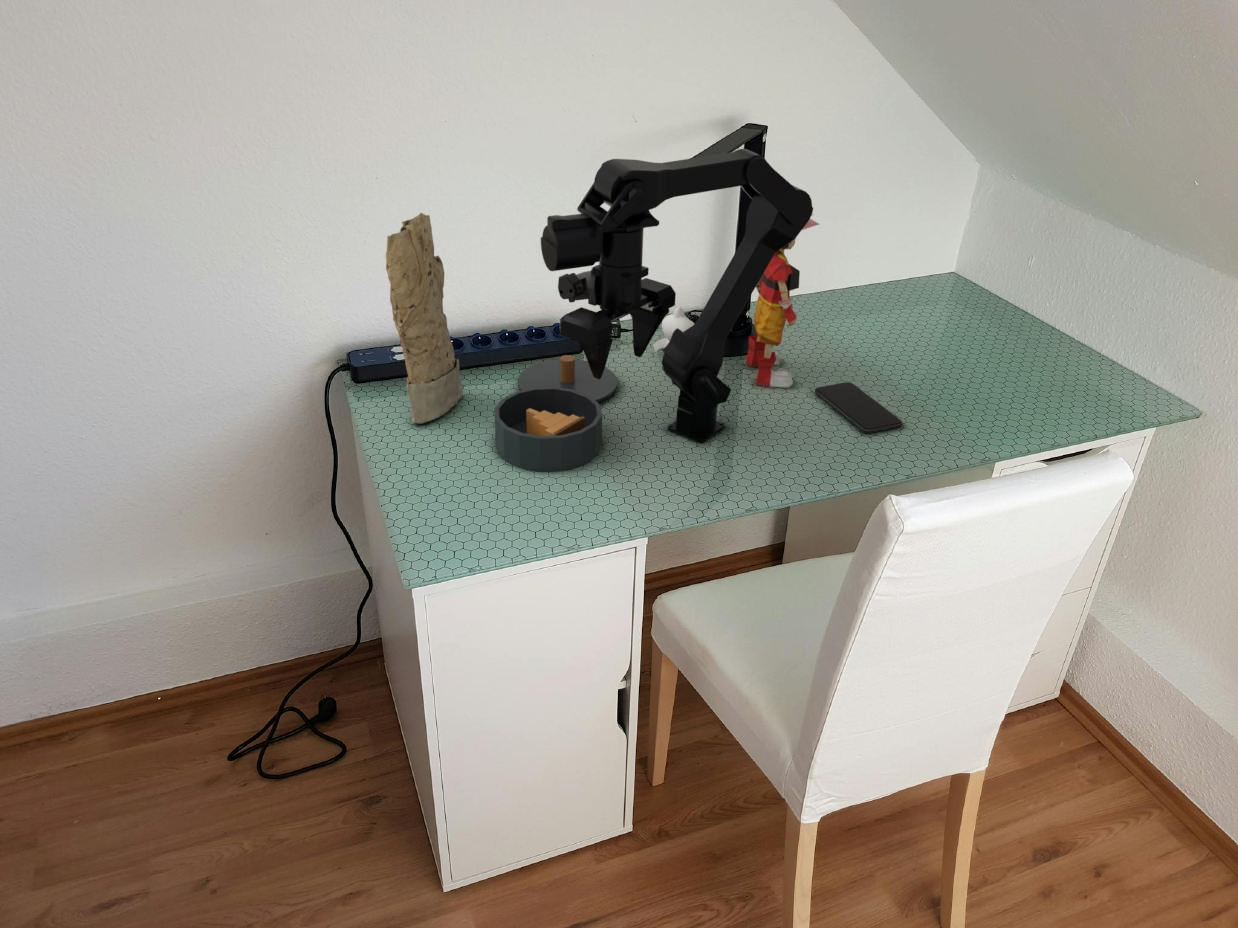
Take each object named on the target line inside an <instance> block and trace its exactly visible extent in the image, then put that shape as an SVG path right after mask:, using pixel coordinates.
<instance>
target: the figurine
mask: <svg viewBox="0 0 1238 928" xmlns="http://www.w3.org/2000/svg"><path fill="white" fill-rule="evenodd" d="M694 324H695V322H693V320H690V319H689V318H688V317H687V316H686V314H685V311H684V309H683V307H682V306H681V305H678V306H677V307H676V308H675V309H674V310H673V313H671V314H669V315H668V314H667V315H666V316H665V317H664V319H663V321H662V322H661V330H662V333H663V335H664V336H665V338H662V339H659V340H657V341H656V342H654V343H653V344H652V347H653V349H654V351H655V352H656V353H657V352H660V351H661V352H662V350H663V349H664V348H665V347H666V346H667V344H668V343H669V341H670V339H671V337H672V334H673V332H674V331H675V330H676V329H677V328H678V329H680V330H681V331H682V332H684V331H685V330H687V329H688V328H690V327H691V326H693V325H694Z"/></svg>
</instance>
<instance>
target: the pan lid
mask: <svg viewBox="0 0 1238 928" xmlns="http://www.w3.org/2000/svg"><path fill="white" fill-rule="evenodd" d="M536 387H559V388H566V389H572V390H576V391H579V392H581V393H584V394H586V395H589V396H591V397H592V398H593V399H594V400H595V401H596V402H598V403H599V402H601V401H604V400H606V399H608V398H609V397H610V396H612V395H613V394H614V393H615V391H616V390H617V387H618V379H617V376H616V375H615V372H613V371H612V370H610V369H609V368H607V366H605V369H604V372H603V375H602V377H601V379H597V378H594V377H593V374H592V371H591V369H590V366H589V364H588V361H587V360H583V359H576V357H575V356H574V355H570V354H569V355H568V354H564V355H562V356H560V357H559V359H551V360H546V361H540V362H538V363H535V364H533V365H530V366H529V367H527V368H525V369H523V370H522V372H521V373H520V374H519V376H518V377H517V388H518V391H522V390H526V389H531V388H536Z"/></svg>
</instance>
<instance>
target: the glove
mask: <svg viewBox="0 0 1238 928" xmlns="http://www.w3.org/2000/svg"><path fill="white" fill-rule="evenodd" d="M401 223H402V226H401V228H400V229H399V232H395V233H392V234H390V235H387V238H386V252H385V270H386V272H387V278H388V282H389V285H390V287H389V289H390V290H389V301H390V302H389V303H390V304H391V308H392V310H391V311H392V320H393V322H394V325H395V329H396V331H397V333H398V337H399V344H400V346H401V348H402V355H403V357H404V362H405V363H404V364H405V368H406V372H407V377H406V392H407V395H408V400H409V405H410V410H411V411H410V412H411V419H410V421H411V424H425V423H427V422H431V421H433V420H436V419H438V418H440V417H441V416H443V415H445V414H447V413H448V412H449V411H450V410H451V409H452V408H453V407H455V406H456V405H458V402H459V400H461V398H462V396H463V394H464V387H463V383H462V380H461V377H460V367H461V366H460V358H455V356H456V351H454V346H453V343H452V340H451V338H450V331H449V328H448V319H447V315H446V314H445V313H444V303H443V302H444V301H443V299H444V287H445V269H444V264H443V261H442V259H441V257H440V256H439V255H435V243H434V237H433V228H432V223H431V216H430V215H429V214H427V215H426V214H425V213H422V212H420V213H419V214H418V215H417V216H414V217H413V218H410V219H407V220H404V221H401Z"/></svg>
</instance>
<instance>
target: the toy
mask: <svg viewBox="0 0 1238 928" xmlns="http://www.w3.org/2000/svg"><path fill="white" fill-rule="evenodd" d="M814 215H815V213H812V215H811V217H813V216H814ZM819 225H820V223H819V222H817V221H815V220H814V219H812V218H810V220H809V221H808V223H807V224H806V225H805V227H804V228H803V229H802V230H801V231H804V230H807V229H809V228H813V227H815V226H819ZM796 239H797V237H796V238H795V239H794V240H793V241H792V242H790V243H789V244H787V245H786V246H784V247H783V248H781V249H780V250H778V251H777V252H776V253H775V254H774V256H773V258H772V259H771V261H770V263H769V265H768V266H767V268H766V270H765V272H764V273H763V275H762V277H761V278H760V280H759V282H758V284H757V285H756V287H755V289H756V290H757V292H758V297H757V300H756V306H755V312H754V316H753V326H754V330H755V332H756V334H754V335H748V352H747V354H746V358H745V362H744V363H745V365H747V366H748V367H750V368H756V367H757V368H758V370H757V374H756V380H755V384H756V386H762V387H773V388H784V389H786V388H787V389H789V388H791V387H792V386H793V385H794V382H793V379H792V375H791V373H790V372H789V371H787V370H774V367H773V366H780V365H781V363H780V356H779V353H778V352H777V351H773V349H774V346H775V347H778V346H779V345H781V344H782V338H783V332H784V328H785V325H786V321H787V325H786V326H787V327H791V326H794V325H796V323H797V320H798V316H797V314H796V313H795V311H794V310H793V298H794V297H793V296H792V297H791V296H790V295H791V294H790V293H791V292H790V291H794V290H797V289H800V277H801V275H800V273H801V271H800V270H799V269H797V268H796V267H795V266H793V265H791V264H790V263H789V260H788V258H787V257H786V255H785V250H792V249H793V247H794V246H795V244H796Z"/></svg>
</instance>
